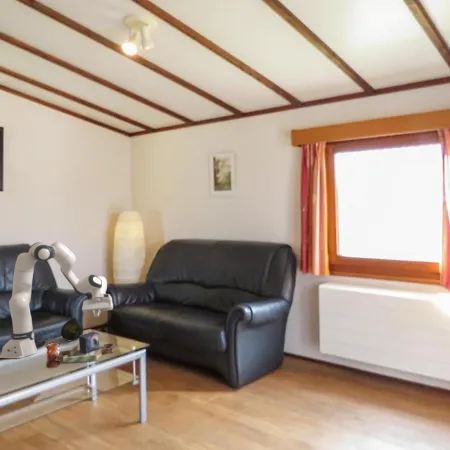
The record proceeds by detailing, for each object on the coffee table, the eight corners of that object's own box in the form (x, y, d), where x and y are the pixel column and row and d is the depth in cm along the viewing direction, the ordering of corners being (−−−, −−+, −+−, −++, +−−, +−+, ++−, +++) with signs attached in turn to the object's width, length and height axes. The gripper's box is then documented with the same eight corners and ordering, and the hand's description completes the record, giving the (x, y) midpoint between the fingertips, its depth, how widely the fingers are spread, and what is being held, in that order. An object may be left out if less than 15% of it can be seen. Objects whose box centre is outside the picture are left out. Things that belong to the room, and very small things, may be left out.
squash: (55, 336, 301) (69, 317, 303) (58, 331, 316) (72, 313, 317) (73, 348, 303) (87, 329, 305) (75, 342, 318) (89, 324, 320)
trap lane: (52, 363, 263) (52, 358, 263) (67, 349, 289) (67, 344, 288) (107, 359, 263) (107, 354, 263) (117, 345, 289) (117, 340, 288)
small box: (86, 354, 276) (84, 337, 276) (79, 352, 280) (77, 336, 280) (100, 348, 285) (98, 332, 284) (93, 347, 289) (92, 331, 288)
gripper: (82, 297, 307) (79, 315, 298) (112, 294, 307) (110, 312, 298) (84, 302, 312) (82, 320, 302) (114, 299, 311) (112, 317, 302)
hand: (96, 316), depth 300 cm, fingers closed
